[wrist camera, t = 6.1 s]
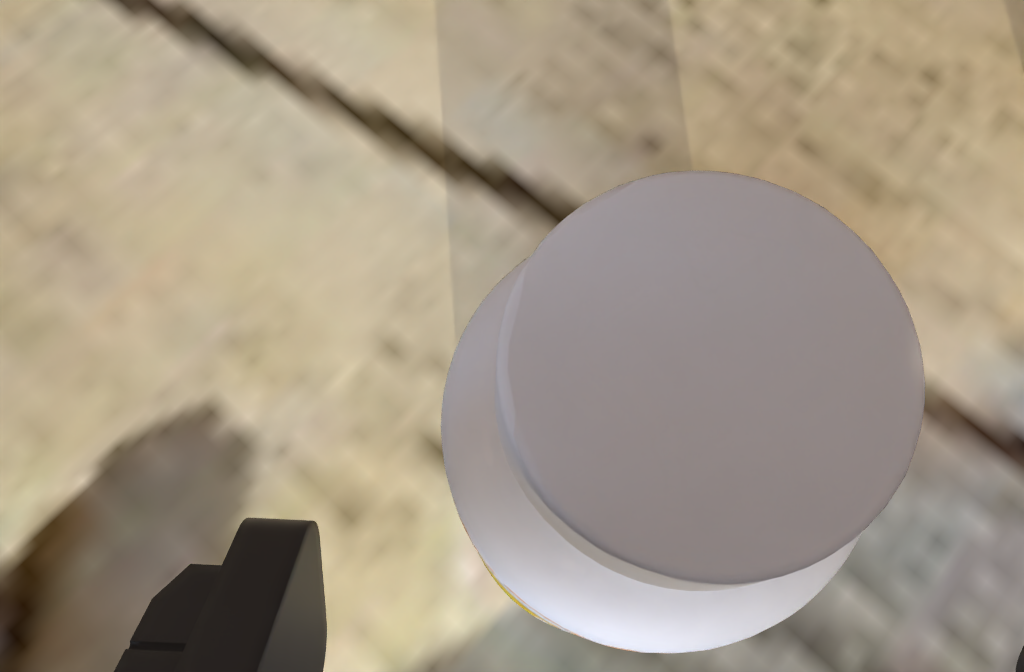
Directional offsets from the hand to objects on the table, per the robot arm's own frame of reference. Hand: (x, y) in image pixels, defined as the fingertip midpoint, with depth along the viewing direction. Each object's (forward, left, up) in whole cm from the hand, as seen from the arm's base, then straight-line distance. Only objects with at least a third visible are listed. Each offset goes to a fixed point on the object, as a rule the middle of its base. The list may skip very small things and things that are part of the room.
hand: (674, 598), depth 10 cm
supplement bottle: (-1, +2, -8) cm, 8 cm away
